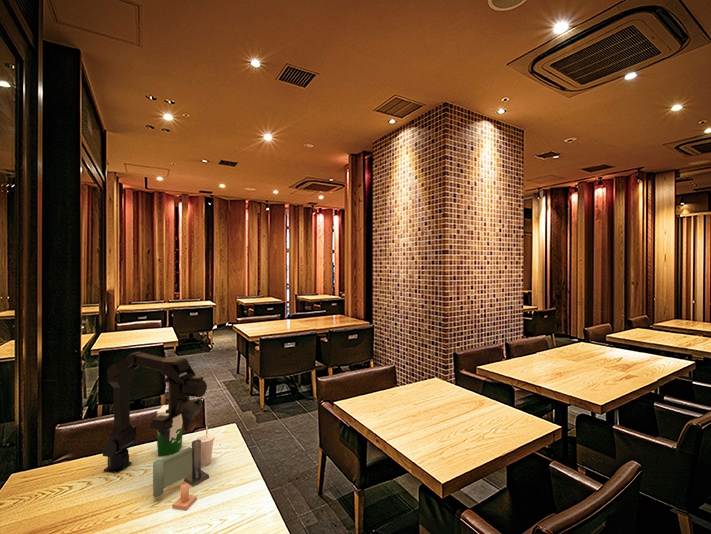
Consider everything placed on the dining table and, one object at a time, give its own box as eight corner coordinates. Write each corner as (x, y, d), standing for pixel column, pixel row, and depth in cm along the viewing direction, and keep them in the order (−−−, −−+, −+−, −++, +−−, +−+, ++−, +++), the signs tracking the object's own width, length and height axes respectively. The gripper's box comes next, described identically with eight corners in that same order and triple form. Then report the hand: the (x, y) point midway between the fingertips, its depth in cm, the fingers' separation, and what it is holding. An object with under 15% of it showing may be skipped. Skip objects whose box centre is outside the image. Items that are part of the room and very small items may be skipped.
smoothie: (207, 468, 130) (207, 431, 130) (192, 466, 131) (192, 429, 131) (217, 459, 136) (217, 423, 136) (203, 457, 137) (203, 422, 137)
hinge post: (199, 472, 127) (199, 435, 127) (209, 478, 123) (208, 440, 124) (183, 480, 122) (183, 442, 122) (193, 486, 119) (192, 447, 119)
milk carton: (179, 455, 139) (178, 405, 139) (154, 458, 137) (154, 408, 137) (184, 444, 148) (184, 397, 148) (161, 447, 145) (161, 399, 146)
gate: (188, 475, 122) (188, 446, 122) (193, 478, 120) (193, 448, 120) (151, 494, 112) (151, 462, 112) (155, 498, 110) (155, 465, 110)
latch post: (172, 508, 108) (172, 489, 108) (183, 498, 113) (183, 479, 113) (186, 510, 107) (186, 491, 107) (196, 499, 112) (196, 481, 112)
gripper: (176, 406, 114) (176, 453, 114) (213, 387, 132) (213, 428, 132) (149, 403, 117) (148, 449, 117) (188, 385, 135) (188, 425, 135)
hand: (177, 437), depth 125 cm, fingers open, 9 cm apart
